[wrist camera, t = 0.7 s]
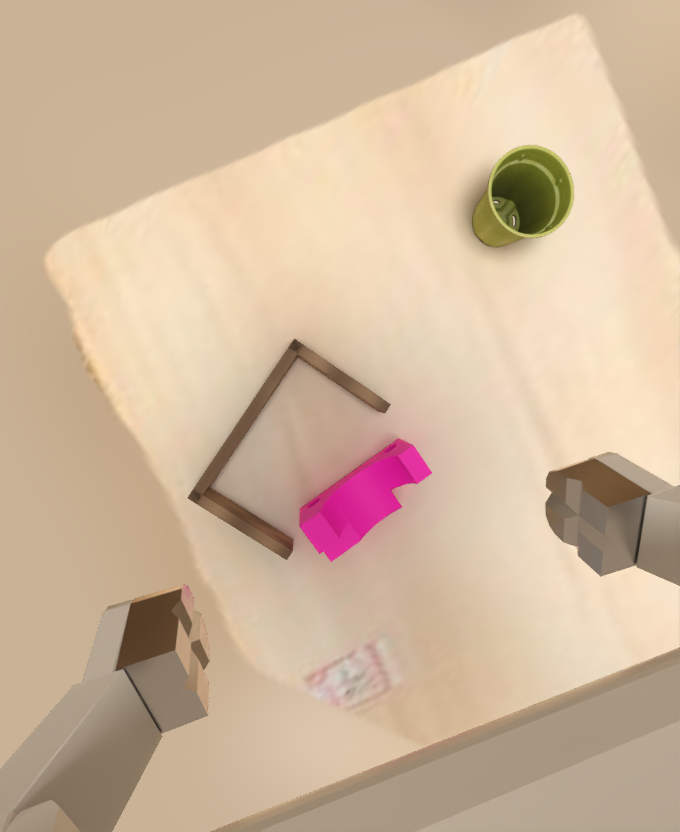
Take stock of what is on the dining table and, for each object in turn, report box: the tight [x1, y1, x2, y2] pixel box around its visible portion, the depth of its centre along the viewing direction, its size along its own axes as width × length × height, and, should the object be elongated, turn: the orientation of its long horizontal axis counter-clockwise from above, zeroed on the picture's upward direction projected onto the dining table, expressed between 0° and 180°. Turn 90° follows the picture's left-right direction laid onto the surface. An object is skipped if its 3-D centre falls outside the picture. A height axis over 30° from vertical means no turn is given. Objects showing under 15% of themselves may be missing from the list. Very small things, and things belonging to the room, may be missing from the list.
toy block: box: [300, 439, 432, 562], centre depth 52 cm, size 15×6×8 cm, turn 125°
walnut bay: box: [188, 339, 391, 560], centre depth 53 cm, size 13×21×4 cm, turn 146°
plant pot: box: [472, 145, 574, 247], centre depth 51 cm, size 9×9×9 cm
